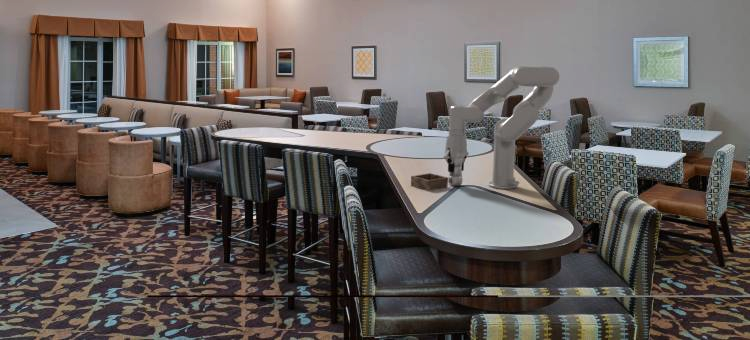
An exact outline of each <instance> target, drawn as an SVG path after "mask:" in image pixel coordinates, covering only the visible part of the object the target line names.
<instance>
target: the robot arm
mask: <svg viewBox="0 0 750 340" xmlns="http://www.w3.org/2000/svg"><path fill="white" fill-rule="evenodd" d="M559 81H560V73H559V71H558V70H557V69H556V68H554V67H550V66H542V67H539V66H538V67H537V66H536V67H535V66H524V65H517V66H515V67H514V68H512V69H511V70H510V71H508V72H507V73H506V74H504V76H502V77H501V79H499V80H498V81H497V82H496V83H495V84H493V85H492V86H491V87H489V88H488V89H487V90H485V91H483V93H481V94H480V95H479V96H478V97H477V98H475V99H474V100H472V102H471V103H470V104H469V105H467V106H464V105H451V106H450V108H449V121H448V124H449V125H448V136H447V137H446V142H445V151H444V153H445V154H444V155H443V158H444V159H445V161H446V163H447V164H448V165H447V172H448V173H450V172H452V173H453V172H454V164H453V162H454V158H455V157H456V155H457V153H458V152H459V151H462V152H463V154H464V156H463V161H462V172H463V171H464V167H465V162H466V159H467V157H469V155H470V153H469V152H468V142H467V135H466V133H467V130H466V129H467V128H466V127H467V126H466V125H467V123H473V124H474V123H476V124H477V123H480V122H482V120H483V119H484V117H485V113H486V111H488V110H490V109H491V108H492V107H494V106H495V105H497V104H500V103H502V102H504V101H506V100H507V99H508V98H509V97H510V96H511V95H513V94H514V93H515V92H517V91H518V90H519V89H520V88H521V87H532V88H533V89H532V90H531V91H530V92H529V93H528V94H527V96H526V97H524V98H523V99H522V100H521V101H520V102H519V103H518V104H516V105H515V106H514V107H513V110H512V115H511V116H510V117H509V118H505V117H504V118H501V119H499V120H497V121H496V122H495V125H494V129H493V145H494V146H493V160H492V161H493V162H492V163H493V164H492V178H491V181H490V182H488V186H489V187H491V188H494V189H500V190H508V189H509V190H512V189H515V188H517V187H518V186H519V184H520V181H517V180H516V177H515V158H516V157H515V156H516V141H517V140H518V139H519V138H520V137H522V136H523V135H524V134H525V133H526V132H527V131H529V129H530V128H531V127H533V126H534V124H535V123H536V122H537V121H538V118H539V114H540V113H539V111H541V110H542V108H544V106H545V105H546V104H547V103H548V102H549V101H550V100H551V98H552V95H553V93H554V92H553V91H554V88H555V87H554V86H555V85H556V84H558V83H559ZM450 155H451V157H450ZM450 158H452V159H450Z"/></svg>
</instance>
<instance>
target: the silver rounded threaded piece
mask: <svg viewBox="0 0 750 340" xmlns="http://www.w3.org/2000/svg"><path fill="white" fill-rule="evenodd" d="M463 156H464V154H463V152H462V151H459V152H458V153H457V155H456V157H455V158H454V162H453V164H454V172H453V173H452V172H448V173H449V175H448V185H450V186H453V187H458V186H461V185H462V184H463V176H462V175H463V173H462V172H463V171H462V161H463ZM450 157H451V155H450ZM450 159H452V158H450Z"/></svg>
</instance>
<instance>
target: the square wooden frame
mask: <svg viewBox="0 0 750 340" xmlns="http://www.w3.org/2000/svg"><path fill="white" fill-rule="evenodd" d="M448 178H449V176H448V177H447V176H443V175H439V174H435V173H430V172H429V173H424V174H423V173H422V174H416V175H411V176H410V186H411V187H414V188H418V189H421V190H425V191H429V192H430V191H434V190H439V189H445V188H448V186H449V183H448Z"/></svg>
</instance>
